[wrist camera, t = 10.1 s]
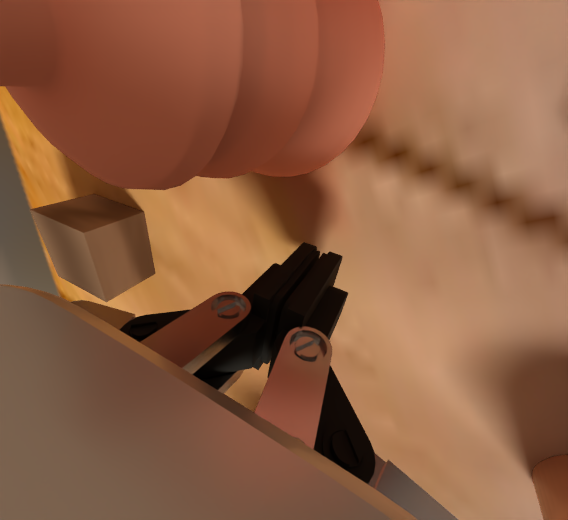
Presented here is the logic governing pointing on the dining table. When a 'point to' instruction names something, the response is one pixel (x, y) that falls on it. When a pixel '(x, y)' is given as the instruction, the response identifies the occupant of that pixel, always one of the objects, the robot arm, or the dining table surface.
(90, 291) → the metal block
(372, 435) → the dining table surface
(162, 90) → the pottery
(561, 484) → the beige rounded cylinder
